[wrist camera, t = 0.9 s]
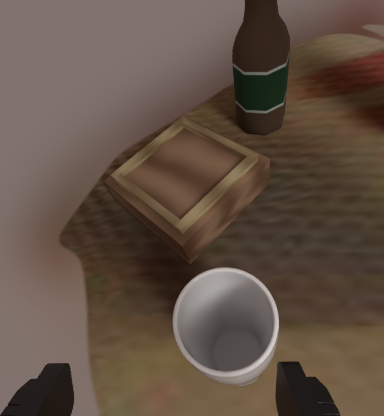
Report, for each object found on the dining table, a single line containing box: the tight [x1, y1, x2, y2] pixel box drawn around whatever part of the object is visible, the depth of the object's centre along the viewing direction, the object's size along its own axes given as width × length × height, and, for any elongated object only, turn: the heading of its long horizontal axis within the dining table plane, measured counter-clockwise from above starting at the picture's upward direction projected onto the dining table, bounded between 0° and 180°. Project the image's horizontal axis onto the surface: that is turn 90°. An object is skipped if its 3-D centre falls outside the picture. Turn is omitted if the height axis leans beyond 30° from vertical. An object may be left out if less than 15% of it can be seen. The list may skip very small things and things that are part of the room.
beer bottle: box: [233, 0, 290, 135], centre depth 40 cm, size 8×8×24 cm
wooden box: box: [104, 116, 270, 264], centre depth 42 cm, size 16×16×6 cm
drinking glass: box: [173, 268, 279, 386], centre depth 25 cm, size 7×7×15 cm
